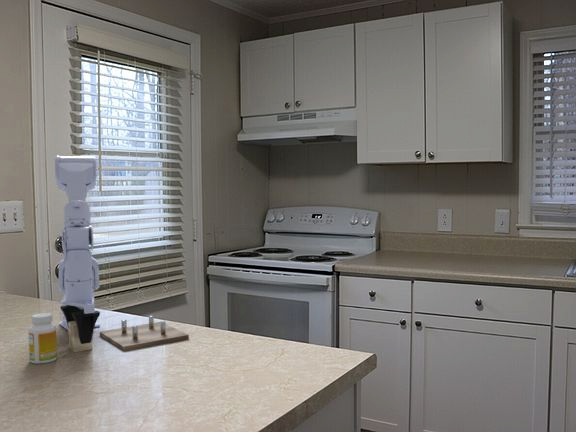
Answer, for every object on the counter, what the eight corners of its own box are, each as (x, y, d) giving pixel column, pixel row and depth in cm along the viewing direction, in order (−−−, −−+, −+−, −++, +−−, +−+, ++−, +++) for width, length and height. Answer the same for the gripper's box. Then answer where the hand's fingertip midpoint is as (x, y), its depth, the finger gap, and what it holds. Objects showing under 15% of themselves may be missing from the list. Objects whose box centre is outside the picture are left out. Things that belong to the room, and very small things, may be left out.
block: (69, 348, 132) (68, 321, 132) (86, 344, 135) (86, 319, 134) (74, 352, 129) (73, 325, 129) (92, 349, 131) (91, 322, 131)
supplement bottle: (61, 356, 126) (60, 312, 125) (49, 364, 120) (47, 318, 120) (38, 356, 126) (36, 311, 126) (24, 363, 121) (22, 317, 120)
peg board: (99, 335, 142) (99, 319, 142) (160, 325, 152) (160, 310, 152) (123, 351, 130) (123, 333, 129) (188, 338, 139) (188, 322, 139)
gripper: (51, 277, 134) (53, 335, 135) (70, 286, 123) (71, 349, 124) (82, 274, 138) (84, 330, 139) (103, 282, 127) (104, 344, 128)
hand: (80, 339), depth 132 cm, fingers open, 7 cm apart
